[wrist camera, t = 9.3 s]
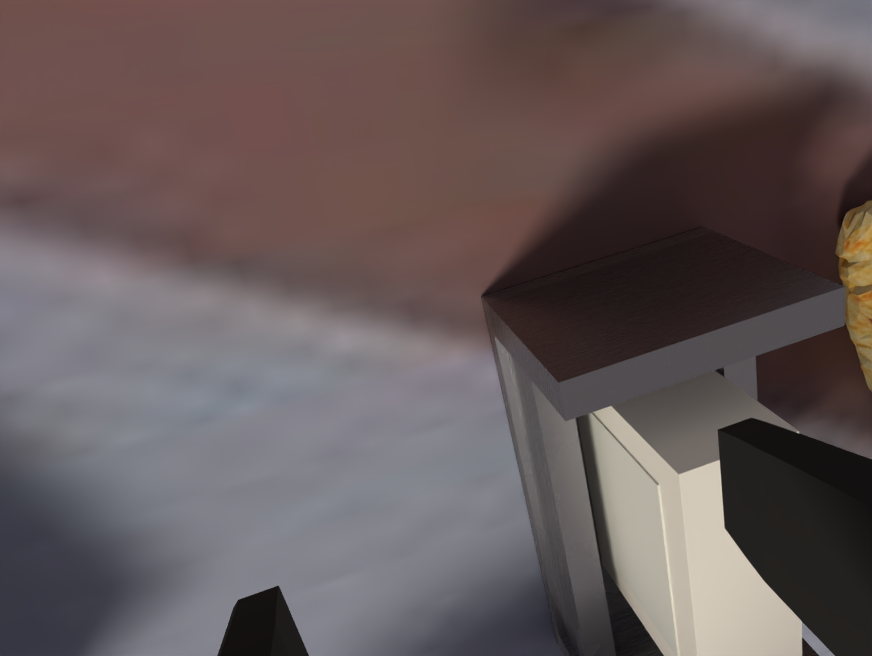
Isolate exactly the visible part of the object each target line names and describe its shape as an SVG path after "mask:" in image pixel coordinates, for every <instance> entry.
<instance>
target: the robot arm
mask: <svg viewBox="0 0 872 656" xmlns="http://www.w3.org/2000/svg"><path fill="white" fill-rule="evenodd" d="M718 443H719V457H720V471H721V485H722V499H723V513H724V527H725V529H726V531H727V532H728V533H729V535H730V536H731V538H732V539H733V540H734V542H735V543H736V545H737V546H738V547H739V549H740V550H741V551H742V553H743V554H744V556H745V557H746V558H747V560H748V561H749V562H750V563H751V565H752V566H753V567H754V569H755V570H756V571H757V573H758V574H759V575H760V576H761V578H762V579H763V580H764V582H765V583H766V584H767V585H768V586H769V587H770V588H771V589H772V590H773V591H774V592H775V593H776V594H777V596H778V597H779V598H780V599H781V600H782V601H783V602H784V603H785V604H786V605H787V606H788V607H789V608H790V609H791V610H792V611H793V612H794V613H795V614H796V616H797V617H798V618H799V619H800V620H801V621H802V622H803V623H804V624H805V625H806V626H807V627H808V628H809V629H810V630H811V631H812V632H813V633H814V634H815V635H816V636H817V637H818V638H819V639H820V641H821V642H822V643H823V644H824V645H825V646H826V647H827V648H828V649H829V650H830V651H831V652H832V653H833V654H834V655H835V656H872V459H869V458H866V457H863V456H860V455H857V454H855V453H852V452H849V451H846V450H843V449H841V448H838V447H835V446H832V445H830V444H827V443H824V442H821V441H819V440H816V439H813V438H810V437H808V436H805V435H802V434H799V433H796V432H794V431H791V430H788V429H785V428H782V427H779V426H777V425H774V424H771V423H768V422H765V421H761V420H758V419H755V418H749V419H746V420H743V421H740V422H738V423H735V424H732V425H729V426H726V427H723V428H721V429H718ZM217 656H309V655H308V653H307V650H306V648H305V646H304V643H303V641H302V639H301V636H300V634H299V632H298V629H297V627H296V625H295V622H294V620H293V618H292V615H291V613H290V611H289V609H288V606H287V604H286V602H285V599H284V597H283V595H282V592H281V590H280V588H279V586H276V587H273V588H271V589H268V590H265V591H262V592H259V593H257V594H254V595H251V596H248V597H245V598H242V599H240V600H238V601H237V603H236V605H235V606H234V608H233V611H232V614H231V617H230V620H229V623H228V626H227V629H226V632H225V635H224V638H223V641H222V644H221V647H220V650H219V653H218V655H217Z"/></svg>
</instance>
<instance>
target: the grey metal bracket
mask: <svg viewBox="0 0 872 656" xmlns="http://www.w3.org/2000/svg"><path fill="white" fill-rule="evenodd" d="M481 298H482V303H483V307H484V312H485V316H486V321H487V326H488V330H489V335H490V339H491V344H492V348H493V353H494V358H495V362H496V367H497V371H498V376H499V380H500V385H501V390H502V394H503V399H504V403H505V408H506V412H507V417H508V422H509V426H510V431H511V435H512V440H513V444H514V449H515V454H516V458H517V463H518V467H519V472H520V476H521V481H522V486H523V490H524V495H525V499H526V504H527V508H528V513H529V518H530V522H531V527H532V531H533V536H534V541H535V545H536V550H537V554H538V559H539V563H540V568H541V573H542V577H543V582H544V586H545V591H546V595H547V600H548V605H549V609H550V614H551V618H552V623H553V627H554V632H555V637H556V641H557V643H558V645H559V647H560V649H561V651H562V653H563V655H564V656H664V655H663V653H662V652H661V650H660V649H659V647H658V646H657V645H656V643H655V642H654V640H653V639H652V637H651V636H650V634H649V633H648V631H647V630H646V628H645V627H644V625H643V624H642V622H641V621H640V619H639V618H638V616H637V615H636V613H635V612H634V610H633V609H632V607H631V606H630V604H629V603H628V601H627V600H626V598H625V597H624V596H623V594H622V593H621V591H620V590H619V588H618V587H617V585H616V584H615V582H614V581H613V579H612V578H611V576H610V575H609V573H608V572H607V570H606V569H605V567H604V566H603V564H602V559H601V553H600V547H599V541H598V535H597V529H596V523H595V517H594V511H593V506H592V500H591V494H590V488H589V482H588V476H587V470H586V464H585V458H584V452H583V447H582V441H581V435H580V429H579V423H578V417H580V416H583V415H586V414H589V413H592V412H595V411H598V410H601V409H603V408H606V407H609V406H612V405H615V404H618V403H621V402H624V401H627V400H630V399H633V398H636V397H638V396H641V395H644V394H647V393H650V392H653V391H656V390H659V389H662V388H665V387H668V386H670V385H673V384H676V383H679V382H682V381H685V380H688V379H691V378H694V377H697V376H700V375H702V374H705V373H708V372H711V371H714V370H715V371H716V372H717V373H719V374H720V375H722V376H723V377H724V378H726V379H727V380H729V381H730V382H731V383H733V384H734V385H736V386H737V387H738V388H740V389H741V390H743V391H744V392H745V393H747V394H748V395H750V396H751V397H752V398H754V399H755V400H757V401H758V399H757V376H756V356H758V355H761V354H764V353H766V352H769V351H772V350H775V349H778V348H781V347H784V346H787V345H790V344H793V343H796V342H799V341H801V340H804V339H807V338H810V337H813V336H816V335H819V334H822V333H825V332H828V331H831V330H833V329H836V328H839V327H842V326H845V286H843V285H840V284H838V283H835V282H833V281H831V280H828V279H826V278H824V277H821V276H819V275H816V274H814V273H812V272H809V271H807V270H805V269H802V268H800V267H798V266H795V265H793V264H790V263H788V262H786V261H783V260H781V259H779V258H776V257H774V256H771V255H769V254H767V253H764V252H762V251H760V250H757V249H755V248H752V247H750V246H748V245H745V244H743V243H741V242H738V241H736V240H734V239H731V238H729V237H726V236H724V235H722V234H719V233H717V232H715V231H712V230H710V229H707V228H705V227H701V228H698V229H694V230H691V231H688V232H685V233H682V234H678V235H675V236H672V237H669V238H666V239H663V240H659V241H656V242H653V243H650V244H647V245H643V246H640V247H637V248H634V249H631V250H628V251H624V252H621V253H618V254H615V255H612V256H608V257H605V258H602V259H599V260H596V261H593V262H589V263H586V264H583V265H580V266H577V267H573V268H570V269H567V270H564V271H561V272H558V273H554V274H551V275H548V276H545V277H542V278H538V279H535V280H532V281H529V282H526V283H523V284H519V285H516V286H513V287H510V288H507V289H503V290H500V291H497V292H494V293H491V294H488V295H484V296H481ZM802 656H819V655H818V654H817V653H816V652H815V651H814V650H813V649H812V648H811V646H810V645H809V644H808V643H807V642H806V641H805V640H804V639H803V638H802Z"/></svg>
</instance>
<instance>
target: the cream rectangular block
mask: <svg viewBox="0 0 872 656" xmlns="http://www.w3.org/2000/svg"><path fill="white" fill-rule="evenodd" d="M749 418H755V419H758V420H761V421H765V422H768V423H771V424H774V425H777V426H779V427H782V428H785V429H788V430H791V431H794V432H796V433H799V431H798V430H797V429H796V428H794V427H793V426H791V425H790V424H789V423H787V422H786V421H784V420H783V419H782V418H780V417H779V416H777V415H776V414H775V413H773V412H772V411H770V410H769V409H768V408H766V407H765V406H763V405H762V404H761V403H759V402H758V401H757V400H755V399H754V398H752V397H751V396H750V395H748V394H747V393H745V392H744V391H743V390H741V389H740V388H738V387H737V386H736V385H734V384H733V383H731V382H730V381H729V380H727V379H726V378H724V377H723V376H722V375H720V374H719V373H717V372H716V371H715V370H714V371H711V372H708V373H705V374H702V375H700V376H697V377H694V378H691V379H688V380H685V381H682V382H679V383H676V384H673V385H670V386H668V387H665V388H662V389H659V390H656V391H653V392H650V393H647V394H644V395H641V396H638V397H636V398H633V399H630V400H627V401H624V402H621V403H618V404H615V405H612V406H609V407H606V408H603V409H601V410H598V411H595V412H592V413H589V414H586V415H583V416H580V417H578V423H579V429H580V435H581V441H582V447H583V452H584V458H585V464H586V470H587V476H588V482H589V488H590V494H591V500H592V506H593V511H594V517H595V523H596V529H597V535H598V541H599V547H600V553H601V559H602V564H603V566H604V567H605V569H606V570H607V572H608V573H609V575H610V576H611V578H612V579H613V581H614V582H615V584H616V585H617V587H618V588H619V590H620V591H621V593H622V594H623V596H624V597H625V598H626V600H627V601H628V603H629V604H630V606H631V607H632V609H633V610H634V612H635V613H636V615H637V616H638V618H639V619H640V621H641V622H642V624H643V625H644V627H645V628H646V630H647V631H648V633H649V634H650V636H651V637H652V639H653V640H654V642H655V643H656V645H657V646H658V647H659V649H660V650H661V652H662V653H663V655H664V656H802V621H801V620H800V619H799V618H798V617H797V616H796V614H795V613H794V612H793V611H792V610H791V609H790V608H789V607H788V606H787V605H786V604H785V603H784V602H783V601H782V600H781V599H780V598H779V597H778V596H777V594H776V593H775V592H774V591H773V590H772V589H771V588H770V587H769V586H768V585H767V584H766V583H765V582H764V580H763V579H762V578H761V576H760V575H759V574H758V573H757V571H756V570H755V569H754V567H753V566H752V565H751V563H750V562H749V561H748V560H747V558H746V557H745V556H744V554H743V553H742V551H741V550H740V549H739V547H738V546H737V545H736V543H735V542H734V540H733V539H732V538H731V536H730V535H729V533H728V532H727V531H726V529H725V527H724V513H723V499H722V485H721V471H720V457H719V443H718V429H721V428H723V427H726V426H729V425H732V424H735V423H738V422H740V421H743V420H746V419H749Z"/></svg>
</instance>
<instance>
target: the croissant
mask: <svg viewBox="0 0 872 656" xmlns="http://www.w3.org/2000/svg"><path fill="white" fill-rule="evenodd" d="M835 254H836V255H838V256H839V264H838V268H839V275H840V278H841V280H842V283H843V286H845V323H846V326H847V328H848V331H849V333H850V338H851V340H852V341H853V343H854V344H855V346H856V350H857V354H858V357H859V360H860V363H861V369H862V370H863V373H864V376H865V379H866V382H867V385H868V388H869V389H870V390H871V391H872V200H871V201H867V202H866V203H865V204H863V205H862V206H859V207H856V208H853V209H851V210H850V211H848V212H847V213H846V215H845V218H844V220H843V223H842V227H841V230H840V233H839V236H838V241H837V246H836V251H835Z"/></svg>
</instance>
